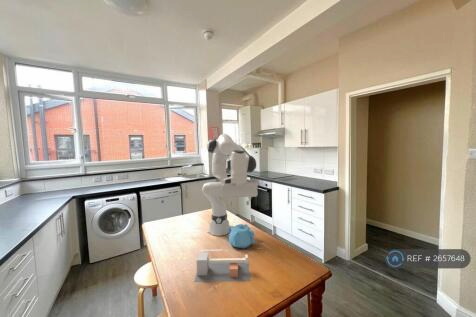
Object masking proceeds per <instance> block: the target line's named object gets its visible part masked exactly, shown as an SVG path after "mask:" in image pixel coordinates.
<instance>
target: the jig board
mask: <svg viewBox="0 0 476 317" xmlns="http://www.w3.org/2000/svg"><path fill="white" fill-rule="evenodd" d="M207 259H210V258H209V252H201V253H200V252H199V253H198V255H197V259H196V274H195V277H194V281H193V282H194V283H211V282H212V283H215V282H218V283H219V282H222V283H223V282H248V281H249V282H250V281H251V272H250V267H249V266H250V265H249V263H248V264H246V263H238V277H230V263H207Z"/></svg>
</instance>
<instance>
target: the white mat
mask: <svg viewBox="0 0 476 317" xmlns="http://www.w3.org/2000/svg"><path fill="white" fill-rule="evenodd" d="M207 251H208V252H209V251H213V252H215V251H217V252H218V251H219V252H220V251H224V249H223V248H222V249H200V250H199V253H202V252H207Z"/></svg>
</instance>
